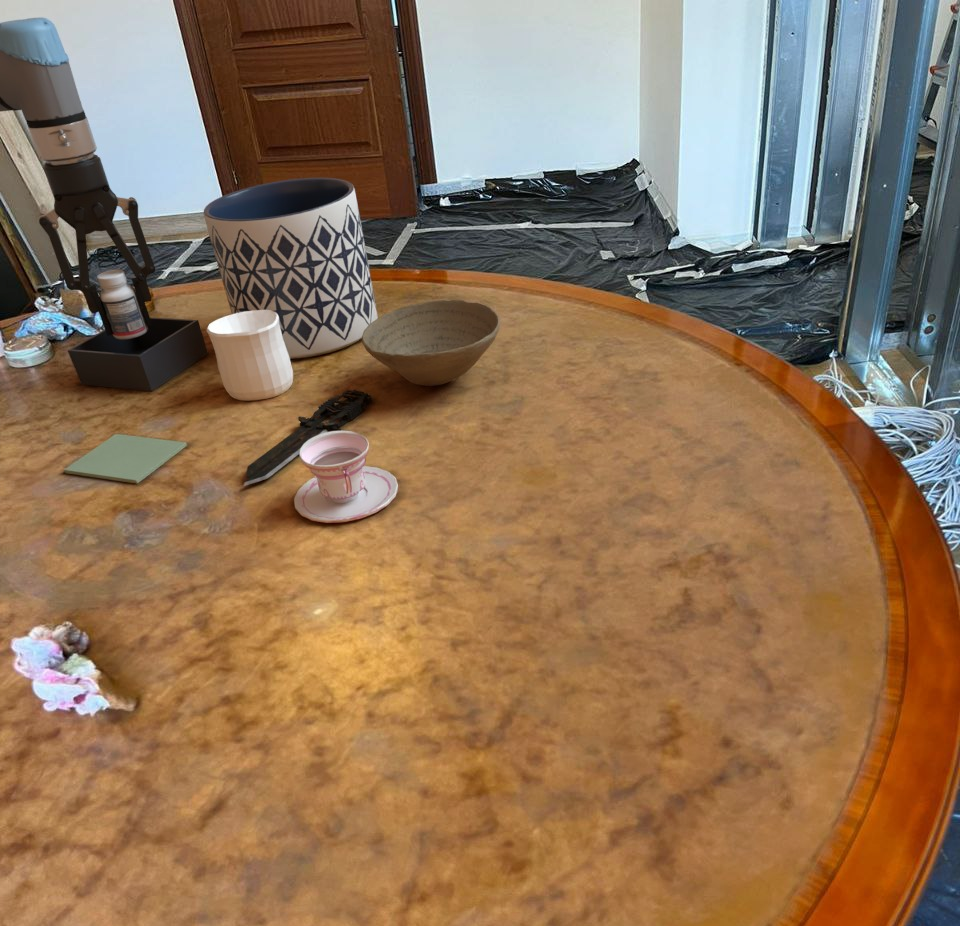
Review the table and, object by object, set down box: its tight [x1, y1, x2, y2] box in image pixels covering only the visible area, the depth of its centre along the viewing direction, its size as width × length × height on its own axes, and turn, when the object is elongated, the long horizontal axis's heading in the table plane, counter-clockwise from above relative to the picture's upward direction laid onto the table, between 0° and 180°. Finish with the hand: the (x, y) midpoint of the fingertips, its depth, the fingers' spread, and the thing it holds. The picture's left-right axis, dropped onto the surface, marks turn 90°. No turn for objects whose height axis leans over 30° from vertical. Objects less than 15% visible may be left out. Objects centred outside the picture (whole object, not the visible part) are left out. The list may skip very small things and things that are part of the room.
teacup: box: [293, 429, 399, 524], centre depth 99 cm, size 12×12×6 cm
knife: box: [242, 389, 373, 487], centre depth 113 cm, size 25×6×1 cm, turn 147°
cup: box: [206, 310, 294, 402], centre depth 125 cm, size 10×10×10 cm
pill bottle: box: [96, 269, 148, 339], centre depth 132 cm, size 5×5×9 cm
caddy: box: [67, 316, 209, 392], centre depth 137 cm, size 14×14×5 cm
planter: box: [203, 177, 379, 360], centre depth 136 cm, size 22×22×20 cm
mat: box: [63, 433, 188, 484], centre depth 114 cm, size 12×10×1 cm
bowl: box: [361, 299, 501, 387], centre depth 121 cm, size 18×18×8 cm
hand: (129, 327), depth 134 cm, fingers closed on pill bottle, 5 cm apart
